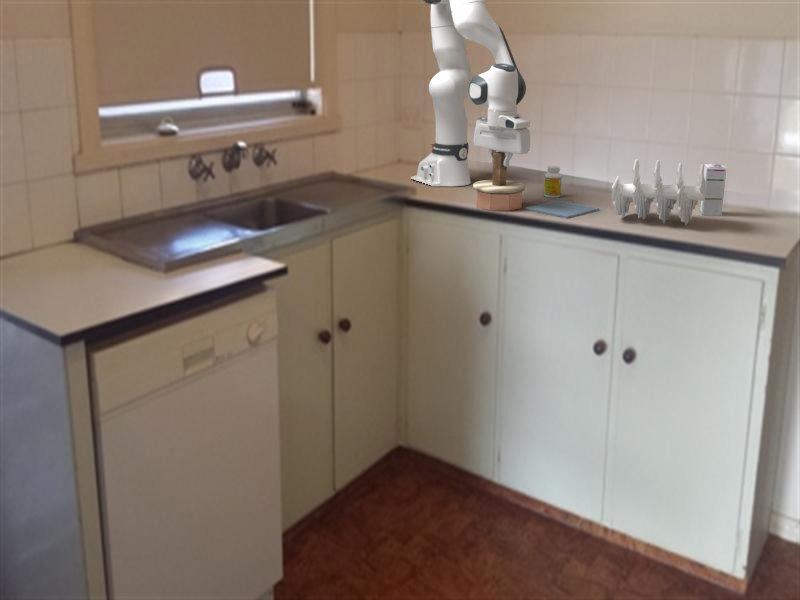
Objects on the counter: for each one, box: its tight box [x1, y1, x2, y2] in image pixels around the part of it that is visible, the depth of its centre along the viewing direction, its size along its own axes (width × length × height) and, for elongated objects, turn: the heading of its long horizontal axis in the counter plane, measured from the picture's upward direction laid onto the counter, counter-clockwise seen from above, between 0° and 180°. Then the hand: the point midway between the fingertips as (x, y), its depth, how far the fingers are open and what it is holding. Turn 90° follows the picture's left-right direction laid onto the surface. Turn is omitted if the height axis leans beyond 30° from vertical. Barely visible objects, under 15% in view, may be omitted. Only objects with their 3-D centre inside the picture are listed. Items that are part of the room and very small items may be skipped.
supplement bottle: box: [543, 165, 563, 199], centre depth 283 cm, size 5×5×10 cm
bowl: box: [476, 190, 523, 212], centre depth 270 cm, size 14×14×5 cm
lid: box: [472, 151, 526, 193], centre depth 268 cm, size 16×16×11 cm
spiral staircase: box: [610, 158, 705, 226], centre depth 250 cm, size 18×18×25 cm
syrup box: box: [699, 163, 727, 217], centre depth 258 cm, size 6×6×14 cm
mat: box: [524, 199, 601, 219], centre depth 265 cm, size 16×16×1 cm
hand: (499, 165), depth 267 cm, fingers closed on lid, 3 cm apart
